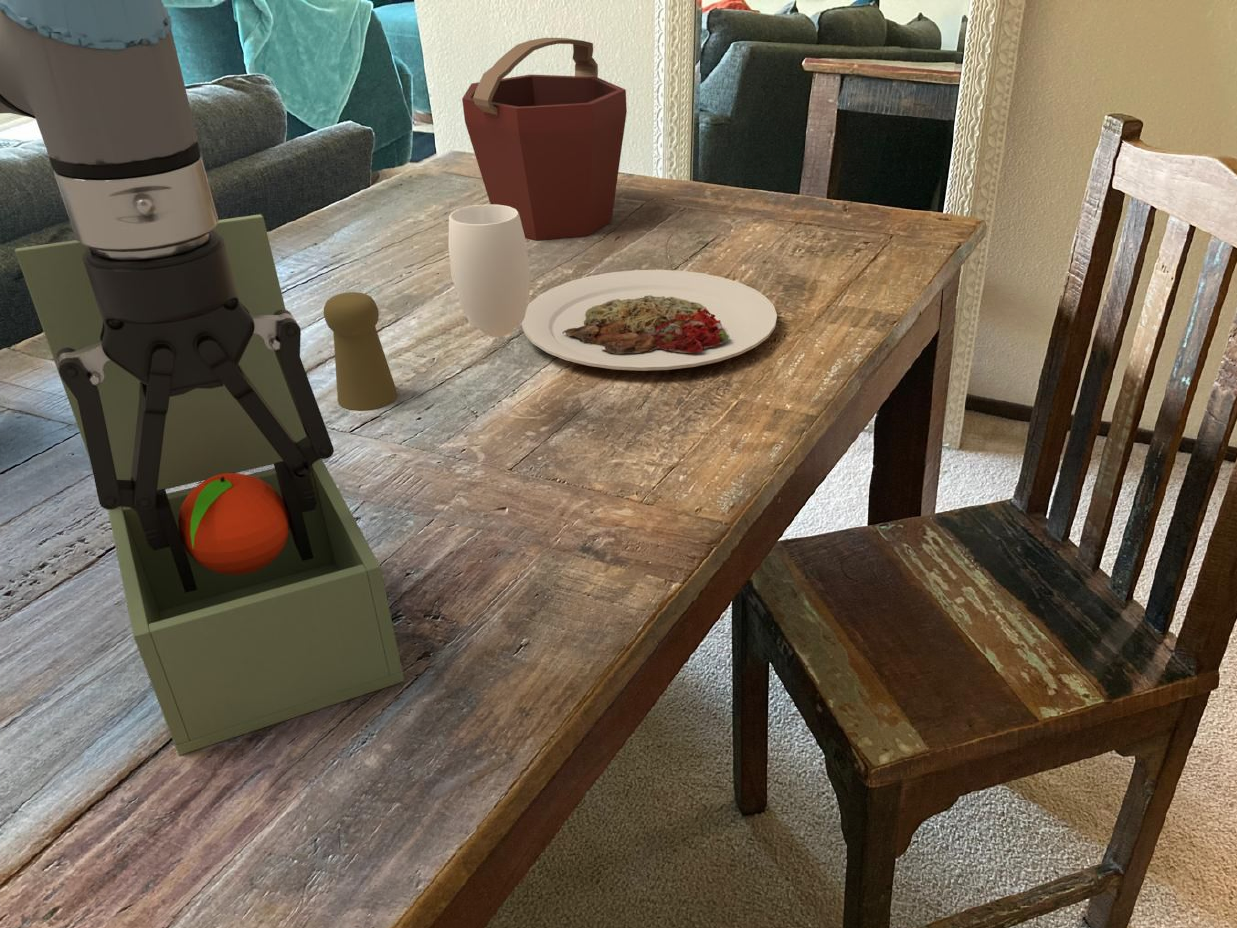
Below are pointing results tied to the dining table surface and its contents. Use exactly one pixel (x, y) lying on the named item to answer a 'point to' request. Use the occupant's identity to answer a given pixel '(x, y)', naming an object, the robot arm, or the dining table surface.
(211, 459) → the lid
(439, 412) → the dining table surface
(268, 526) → the clementine
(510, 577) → the dining table surface
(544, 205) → the bucket
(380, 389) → the cork
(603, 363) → the plated food
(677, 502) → the dining table surface
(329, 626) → the chest
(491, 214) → the cup
